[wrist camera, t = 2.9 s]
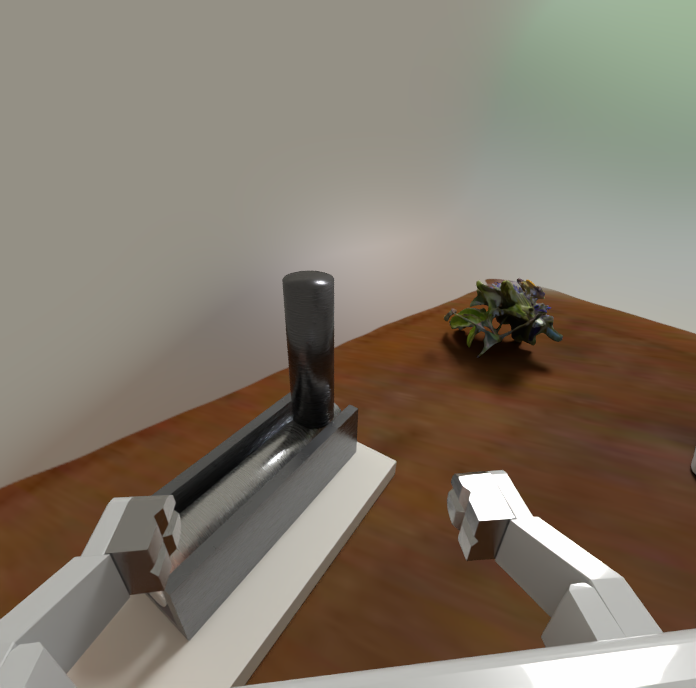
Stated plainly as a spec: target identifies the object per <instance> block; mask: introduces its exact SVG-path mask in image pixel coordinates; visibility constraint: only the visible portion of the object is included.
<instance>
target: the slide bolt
mask: <svg viewBox="0 0 696 688" xmlns="http://www.w3.org/2000/svg"><path fill="white" fill-rule="evenodd" d="M283 295H284V308H285V320H286V321H285V322H286V335H287V349H288V363H289V377H290V390H291V404H292V417H293V420H292V421H290V422H289V423H288V424H287V425H286V426H284V427H283V428H282V429H281V430H280V431H278V432H277V433H276V434H275V435H274V436H272V437H271V438H270V439H269V440H268V441H266V442H265V443H264V444H263V445H262V446H260V447H259V448H258V449H257V450H256V451H254V452H253V453H252V454H251V455H250V456H248V457H247V458H246V459H245V460H244V461H242V462H241V463H240V464H239V465H238V466H236V467H235V468H234V469H233V470H232V471H230V472H229V473H228V474H227V475H226V476H224V477H223V478H222V479H221V480H219V481H218V482H217V483H216V484H215V485H213V486H212V487H211V488H210V489H209V490H207V491H206V492H205V493H204V494H203V495H201V496H200V497H199V498H198V499H197V500H195V501H194V502H193V503H192V504H191V505H189V506H188V507H187V508H186V509H185V510H183V511H182V512H181V513H180V514H179V515H180V519H181V533H180V540H179V543H178V547H177V549H176V550H175V551H174V552H173V553H172V554H171V555H170V556H169V557H170V560H171V563H172V567H171V571H170V574H171V573H172V572H173V571H174V570H175V569H176V568H177V567H178V566H179V565H180V564H181V563H182V562H183V561H184V560H185V559H186V558H187V557H189V556H190V555H191V554H192V553H193V552H194V551H195V550H196V549H197V548H198V547H199V546H200V545H201V544H202V543H203V542H204V541H206V540H207V539H208V538H209V537H210V536H211V535H212V534H213V533H214V532H215V531H216V530H217V529H218V528H219V527H220V526H221V525H222V524H224V523H225V522H226V521H227V520H228V519H229V518H230V517H231V516H232V515H233V514H234V513H235V512H236V511H237V510H238V509H239V508H241V507H242V506H243V505H244V504H245V503H246V502H247V501H248V500H249V499H250V498H251V497H252V496H253V495H254V494H255V493H256V492H257V491H259V490H260V489H261V488H262V487H263V486H264V485H265V484H266V483H267V482H268V481H269V480H270V479H271V478H272V477H273V476H274V475H275V474H277V473H278V472H279V471H280V470H281V469H282V468H283V467H284V466H285V465H286V464H287V463H288V462H289V461H290V460H291V459H292V458H294V457H295V456H296V455H297V454H298V453H299V452H300V451H301V450H302V449H303V448H304V447H305V446H306V445H307V444H308V443H309V442H310V441H312V440H313V439H314V438H315V437H316V436H317V435H318V434H319V433H320V432H321V431H322V430H323V429H324V428H325V427H326V426H327V425H329V424H330V423H331V422H332V421H333V420H334V419H335V418H336V417H337V416H338V415H339V414H340V413H341V412H342V411H341V410H340V408H339V407H338V406H337V405H336V404H335V403H334V278H333V276H331V275H330V274H327V273H324V272H319V271H299V272H294V273H291V274H288V275H286V276H285V277H284V278H283ZM149 594H150V595H151V596H152V597H153V598H154V600H155V601H156V602H158V603H159V604H160V605H161V606H163V607H165V606H166V605H167V601H166V599H165V597H164V594H163V592H162V591H158V592H150V593H149Z"/></svg>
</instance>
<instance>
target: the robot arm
mask: <svg viewBox="0 0 696 688" xmlns="http://www.w3.org/2000/svg"><path fill="white" fill-rule="evenodd" d="M691 468H692V470H693V472H694V473H695V474H696V449H695V453H694V457H693V460H692V464H691ZM451 483H452V486H453V489H452V490H451V491H450V492H449V493H448V499H447V504H448V512H449V516H450V519H451V522H452V524H453V525H454V526H455V527H456V528H457V529H458V530H459V531H460V533H459V537H458V540H459V543H460V545H461V548H462V550H463V553H464V555H465V558H466V560H467V561H473V560H488V559H495V561H496V562H497V563H498V564H499V565H500V566H501V567H502V568H503V569H504V570H505V571H506V572H507V573H508V574H509V575H510V576H511V577H512V578H513V579H514V580H515V581H516V582H517V583H518V584H519V585H520V586H521V587H522V588H523V590H524V591H525V592H526V593H527V594H528V595H529V596H530V597H531V598H532V599H533V600H534V601H535V602H536V603H537V604H538V605H539V606H540V607H541V608H542V609H543V610H544V611H545V612H546V613H547V614H548V615H549V616H550V617H551V619H550V621H549V623H548V624H547V626H546V628H545V629H544V631H543V634H542V636H541V638H542V640H543V642H544V644H545V646H546V648H539V649H531V650H523V651H515V652H508V653H500V654H492V655H484V656H476V657H468V658H460V659H452V660H444V661H437V662H429V663H421V664H413V665H405V666H397V667H389V668H381V669H374V670H366V671H358V672H350V673H342V674H334V675H326V676H318V677H311V678H303V679H295V680H287V681H279V682H271V683H263V684H255V685H248V686H240V687H232V688H696V629H689V630H681V631H673V632H665V633H663V632H662V631H661V629H660V628H659V626H658V625H657V624H656V622H655V621H654V619H653V618H652V617H651V615H650V614H649V613H648V611H647V610H646V608H645V607H644V606H643V604H642V603H641V601H640V600H639V599H638V597H637V596H636V594H635V593H634V592H633V590H632V589H631V588H630V586H629V585H628V583H627V582H626V581H625V579H624V578H623V577H622V576H620V575H619V574H618V573H616V572H615V571H613V570H612V569H611V568H609V567H608V566H606V565H605V564H604V563H602V562H601V561H599V560H598V559H597V558H595V557H594V556H592V555H591V554H590V553H588V552H587V551H585V550H584V549H582V548H581V547H580V546H578V545H577V544H575V543H574V542H573V541H571V540H570V539H568V538H567V537H566V536H564V535H563V534H561V533H560V532H559V531H557V530H556V529H554V528H553V527H552V526H550V525H549V524H547V523H546V522H544V521H543V520H542V519H540V518H539V517H533V516H532V514H531V513H530V511H529V509H528V508H527V506H526V505H525V503H524V501H523V500H522V498H521V496H520V495H519V493H518V491H517V490H516V488H515V487H514V485H513V483H512V482H511V480H510V478H509V477H508V475H507V473H506V472H504V471H503V470H499V471H487V472H485V471H481V472H470V473H458V474H454V475H453V477H452V480H451ZM175 503H176V502H175V500H174V497H173V495H161V496H139V497H122V498H113V499H112V500H111V501H110V502H109V503H108V505H107V507H106V509H105V511H104V512H103V514H102V516H101V518H100V520H99V522H98V524H97V526H96V528H95V530H94V532H93V534H92V535H91V537H90V539H89V541H88V543H87V545H86V547H85V549H84V551H83V553H82V555H81V557H74V558H73V559H72V560H71V561H69V562H68V563H67V564H66V565H65V566H63V567H62V568H61V569H60V570H59V571H58V572H56V573H55V574H54V575H53V576H52V577H50V578H49V579H48V580H47V581H46V582H44V583H43V584H42V585H41V586H40V587H39V588H37V589H36V590H35V591H34V592H33V593H31V594H30V595H29V596H28V597H27V598H26V599H24V600H23V601H22V602H21V603H20V604H18V605H17V606H16V607H15V608H14V609H12V610H11V611H10V612H9V613H8V614H7V615H5V616H4V617H3V618H2V619H1V620H0V688H77V687H76V685H75V684H74V683H73V682H72V681H71V679H70V678H69V677H68V676H67V673H68V672H69V670H70V669H71V668H72V667H73V666H74V664H75V663H76V662H77V661H78V660H79V658H80V657H81V656H82V655H83V654H84V652H85V651H86V650H87V649H88V648H89V646H90V645H91V644H92V643H93V642H94V640H95V639H96V638H97V637H98V636H99V634H100V633H101V632H102V631H103V630H104V628H105V627H106V626H107V625H108V624H109V622H110V621H111V620H112V619H113V618H114V616H115V615H116V614H117V613H118V612H119V610H120V609H121V608H122V607H123V605H124V604H125V603H126V602H127V601H128V599H129V598H130V595H134V594H142V593H150V592H158V591H164V590H165V587H166V584H167V581H168V577H169V574H170V571H171V567H172V563H171V560H170V557H169V556H170V555H171V554H172V553H173V552H174V551H175V550H176V549H177V547H178V543H179V540H180V533H181V519H180V515H179V513H178V512H176V511H175V510H174V507H175Z"/></svg>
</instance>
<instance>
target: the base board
mask: <svg viewBox="0 0 696 688" xmlns="http://www.w3.org/2000/svg"><path fill="white" fill-rule="evenodd" d="M395 468H396V461H395V460H393V459H391V458H389V457H387V456H385V455H383V454H381V453H379V452H377V451H375V450H373V449H371V448H369V447H367V446H365V445H363V444H361V443H359V442H357V447H356V453H355V454H354V455H353V456H352V457H351V458H350V460H349V461H348V462H347V463H346V464H345V465H344V466H343V467H342V469H341V470H340V471H339V472H338V473H337V474H336V475H335V477H334V478H333V479H332V480H331V481H330V482H329V483H328V484H327V486H326V487H325V488H324V489H323V490H322V491H321V492H320V494H319V495H318V496H317V497H316V498H315V499H314V500H313V501H312V503H311V504H310V505H309V506H308V507H307V508H306V509H305V511H304V512H303V513H302V514H301V515H300V516H299V517H298V518H297V520H296V521H295V522H294V523H293V524H292V525H291V526H290V528H289V529H288V530H287V531H286V532H285V533H284V534H283V535H282V537H281V538H280V539H279V540H278V541H277V542H276V543H275V545H274V546H273V547H272V548H271V549H270V550H269V551H268V552H267V554H266V555H265V556H264V557H263V558H262V559H261V560H260V562H259V563H258V564H257V565H256V566H255V567H254V568H253V569H252V571H251V572H250V573H249V574H248V575H247V576H246V577H245V579H244V580H243V581H242V582H241V583H240V584H239V585H238V586H237V588H236V589H235V590H234V591H233V592H232V593H231V594H230V596H229V597H228V598H227V599H226V600H225V601H224V602H223V603H222V605H221V606H220V607H219V608H218V609H217V610H216V611H215V613H214V614H213V615H212V616H211V617H210V618H209V619H208V620H207V622H206V623H205V624H204V625H203V626H202V627H201V628H200V630H199V631H198V632H197V633H196V634H195V635H194V636H193V637H192V639H191V640H190V641H188V640H187V639H186V638H185V637H184V635H183V634H182V633H181V632H180V631H179V630H178V629H177V628H176V627H175V626H174V625H173V624H172V623H171V622H170V620H169V619H168V618H167V617H166V616H165V615H164V614H163V613H162V612H161V611H160V610H159V609H158V608H157V606H156V605H155V604H154V603H153V602H152V601H151V600H150V599H149V598H148V597H147V596H146V595H145V594H144V593H142V594H134V595H130V598H129V599H128V601H127V602H126V603H125V604H124V605H123V607H122V608H121V609H120V610H119V612H118V613H117V614H116V615H115V616H114V618H113V619H112V620H111V621H110V622H109V624H108V625H107V626H106V627H105V628H104V630H103V631H102V632H101V633H100V634H99V636H98V637H97V638H96V639H95V640H94V642H93V643H92V644H91V645H90V646H89V648H88V649H87V650H86V651H85V652H84V654H83V655H82V656H81V657H80V658H79V660H78V661H77V662H76V663H75V664H74V666H73V667H72V668H71V669H70V670H69V672H68V673H67V676H68V677H69V678H70V679H71V681H72V682H73V683H74V684H75V685H76V687H77V688H232V687H240V686H244V685H245V684H246V682H247V681H248V680H249V678H250V677H251V675H252V674H253V673H254V671H255V670H256V668H257V667H258V666H259V664H260V663H261V661H262V660H263V659H264V657H265V656H266V654H267V653H268V652H269V650H270V649H271V647H272V646H273V645H274V643H275V642H276V640H277V639H278V637H279V636H280V635H281V633H282V632H283V630H284V629H285V628H286V626H287V625H288V623H289V622H290V621H291V619H292V618H293V616H294V615H295V614H296V612H297V611H298V609H299V608H300V607H301V605H302V604H303V602H304V601H305V600H306V598H307V597H308V595H309V594H310V593H311V591H312V590H313V588H314V587H315V585H316V584H317V583H318V581H319V580H320V578H321V577H322V576H323V574H324V573H325V571H326V570H327V569H328V567H329V566H330V564H331V563H332V562H333V560H334V559H335V557H336V556H337V555H338V553H339V552H340V550H341V549H342V548H343V546H344V545H345V543H346V542H347V541H348V539H349V538H350V536H351V535H352V533H353V532H354V531H355V529H356V528H357V526H358V525H359V524H360V522H361V521H362V519H363V518H364V517H365V515H366V514H367V512H368V511H369V510H370V508H371V507H372V505H373V504H374V503H375V501H376V500H377V498H378V497H379V496H380V494H381V493H382V491H383V490H384V489H385V487H386V486H387V484H388V483H389V481H390V480H391V479H392V477H393V476H394V474H395Z"/></svg>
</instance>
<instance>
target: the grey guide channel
mask: <svg viewBox="0 0 696 688" xmlns="http://www.w3.org/2000/svg"><path fill="white" fill-rule="evenodd" d="M292 420H293V417H292V404H291V392H290V393H288V394H287V395H286V396H284V397H283V398H282V399H280V400H279V401H278V402H276V403H275V404H274V405H272V406H271V407H270V408H268V409H267V410H266V411H264V412H263V413H262V414H260V415H259V416H258V417H256V418H255V419H254V420H252V421H251V422H250V423H248V424H247V425H246V426H244V427H243V428H242V429H240V430H239V431H238V432H236V433H235V434H234V435H232V436H231V437H229V438H228V439H227V440H225V441H224V442H223V443H221V444H220V445H219V446H217V447H216V448H215V449H213V450H212V451H211V452H209V453H208V454H207V455H205V456H204V457H203V458H201V459H200V460H199V461H197V462H196V463H195V464H193V465H192V466H191V467H189V468H188V469H187V470H185V471H184V472H183V473H181V474H180V475H179V476H177V477H176V478H175V479H173V480H172V481H171V482H169V483H168V484H166V485H165V486H164V487H162V488H161V489H160V490H158V491H157V492H156V493H154V494H153V495H152V496H161V495H173V497H174V500H175V502H176V503H175V507H174V510H175V511H176V512H178V513H179V514H180V513H181V512H182V511H183V510H185V509H186V508H187V507H188V506H189V505H191V504H192V503H193V502H194V501H195V500H197V499H198V498H199V497H200V496H201V495H203V494H204V493H205V492H206V491H207V490H209V489H210V488H211V487H212V486H213V485H215V484H216V483H217V482H218V481H219V480H221V479H222V478H223V477H224V476H226V475H227V474H228V473H229V472H230V471H232V470H233V469H234V468H235V467H236V466H238V465H239V464H240V463H241V462H242V461H244V460H245V459H246V458H247V457H248V456H250V455H251V454H252V453H253V452H254V451H256V450H257V449H258V448H259V447H260V446H262V445H263V444H264V443H265V442H266V441H268V440H269V439H270V438H271V437H272V436H274V435H275V434H276V433H277V432H278V431H280V430H281V429H282V428H283V427H284V426H286V425H287V424H288V423H289V422H290V421H292ZM357 423H358V408H355V407H353V406H351V405H349V406H348V407H347V408H345V409H344V410H343V411H342V412H341V413H340V414H339V415H338V416H337V417H336V418H335V419H334V420H333V421H332V422H331V423H330V424H329V425H327V426H326V427H325V428H324V429H323V430H322V431H321V432H320V433H319V434H318V435H317V436H316V437H315V438H314V439H313V440H312V441H310V442H309V443H308V444H307V445H306V446H305V447H304V448H303V449H302V450H301V451H300V452H299V453H298V454H297V455H296V456H295V457H294V458H292V459H291V460H290V461H289V462H288V463H287V464H286V465H285V466H284V467H283V468H282V469H281V470H280V471H279V472H278V473H277V474H275V475H274V476H273V477H272V478H271V479H270V480H269V481H268V482H267V483H266V484H265V485H264V486H263V487H262V488H261V489H260V490H259V491H257V492H256V493H255V494H254V495H253V496H252V497H251V498H250V499H249V500H248V501H247V502H246V503H245V504H244V505H243V506H242V507H241V508H239V509H238V510H237V511H236V512H235V513H234V514H233V515H232V516H231V517H230V518H229V519H228V520H227V521H226V522H225V523H224V524H222V525H221V526H220V527H219V528H218V529H217V530H216V531H215V532H214V533H213V534H212V535H211V536H210V537H209V538H208V539H207V540H206V541H204V542H203V543H202V544H201V545H200V546H199V547H198V548H197V549H196V550H195V551H194V552H193V553H192V554H191V555H190V556H189V557H187V558H186V559H185V560H184V561H183V562H182V563H181V564H180V565H179V566H178V567H177V568H176V569H175V570H174V571H173V572H172V573H171V574H169V577H168V581H167V584H166V587H165V590H164V591H162V592H163V594H164V597H165V599H166V601H167V605H166V606H165V607H163V606H161V605H160V604H159V603H158V602H156V601H155V600H154V598H153V597H152V596H151V595H150V594H149V593H144V594H145V595H146V596H147V597H148V598H149V599H150V600H151V601H152V602H153V603H154V604H155V605H156V606H157V608H158V609H159V610H160V611H161V612H162V613H163V614H164V615H165V616H166V617H167V618H168V619H169V620H170V622H171V623H172V624H173V625H174V626H175V627H176V628H177V629H178V630H179V631H180V632H181V633H182V634H183V635H184V637H185V638H186V639H187V640H188V641H190V640H191V639H192V637H193V636H194V635H195V634H196V633H197V632H198V631H199V630H200V628H201V627H202V626H203V625H204V624H205V623H206V622H207V620H208V619H209V618H210V617H211V616H212V615H213V614H214V613H215V611H216V610H217V609H218V608H219V607H220V606H221V605H222V603H223V602H224V601H225V600H226V599H227V598H228V597H229V596H230V594H231V593H232V592H233V591H234V590H235V589H236V588H237V586H238V585H239V584H240V583H241V582H242V581H243V580H244V579H245V577H246V576H247V575H248V574H249V573H250V572H251V571H252V569H253V568H254V567H255V566H256V565H257V564H258V563H259V562H260V560H261V559H262V558H263V557H264V556H265V555H266V554H267V552H268V551H269V550H270V549H271V548H272V547H273V546H274V545H275V543H276V542H277V541H278V540H279V539H280V538H281V537H282V535H283V534H284V533H285V532H286V531H287V530H288V529H289V528H290V526H291V525H292V524H293V523H294V522H295V521H296V520H297V518H298V517H299V516H300V515H301V514H302V513H303V512H304V511H305V509H306V508H307V507H308V506H309V505H310V504H311V503H312V501H313V500H314V499H315V498H316V497H317V496H318V495H319V494H320V492H321V491H322V490H323V489H324V488H325V487H326V486H327V484H328V483H329V482H330V481H331V480H332V479H333V478H334V477H335V475H336V474H337V473H338V472H339V471H340V470H341V469H342V467H343V466H344V465H345V464H346V463H347V462H348V461H349V460H350V458H351V457H352V456H353V455H354V454H355V453H356V447H357Z"/></svg>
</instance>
